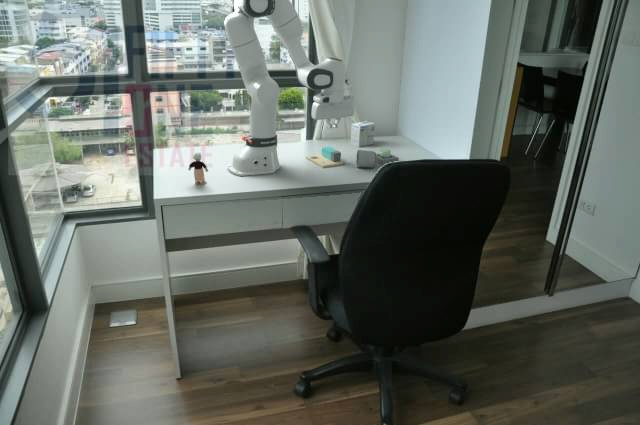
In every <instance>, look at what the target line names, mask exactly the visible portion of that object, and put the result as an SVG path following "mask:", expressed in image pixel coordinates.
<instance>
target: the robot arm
mask: <svg viewBox="0 0 640 425" xmlns="http://www.w3.org/2000/svg"><path fill="white" fill-rule="evenodd" d="M264 17H266V19H267V20H268V21H269V22H270V24H271V27H272V28H273V30H274V32H275V34H276V36H277V37H278V38H279V40H280V41H281V42H282V44H283V45H284V47H285V49H286V51H287V53H288V54H289V57H290V58H291V60H292V63H293V65H294V69H295V75H296V79H297V82H298V83H299V84H300V85H301V86H303V87H306V88H308V89H310V90H312V91H321V90H322V91H321V92H320V93H318V94H316V95H313V99H312V100H313V101H314V102H313V103H312V105H311V113H310V114H311V118H312V119H313V120H315V121H321V120H323V121H324V120H325V122H326V124H327V129H330V130H331V129H333V128H334V129H337V128H339V127H338V125H339V123H340V121H341V118H349V117H354V114H355V107H354V103H355V102H354V101H355V100H354V97H353V95H351V94H347V95H345V86H344V84H345V81H346V80H345V79H346V65H345V62H344V61H343V60H342V59H341V58H340V59H339V58H336V57H332V56H331V57H326V58H325V59H324V60H323V61H321V62H320V63H319V64H313V62H311V61H310V60H309V58H308V56H307V54H306V52H305V50H304V48H303V45H302V41H301V38H302V36H303V35H304V26H303V24H302V20H301V18H300V16H299V14H298V12H297V10H296V8H295V7H294V5H293V3H292V2H291V1H290V0H233V1H232V13H230V14H229V15H227V16H226V17H225V20H224V28H225V34H226V37H227V40H228V43H229V45H230V49H231V51H232V53H233V55H234V58H235V60H236V63H237V65H238V66H237V67H238V68H239V73H240V75H241V78H242V82H243V85H244V87H245V89H246V92H247V94H248V95H249V97H250V98H251V105H250V106H251V107H250V113H249V117H248V118H249V134H248V136H246V135H244V134H242V136H241V140H242V141H245V144H244V145H243V146H241V147H240V149H238V150H237V151H236V152H235V153H234V154H233V156H232V163H229V164H227V170H228V171H229V172H230V173H231V174H233V175H235V176H239V177H243V176H255V175H267V174H268V175H270V174H275V173H276V171H277V170H279V169H280V168H281V165H280V161H279V155H278V150H277V147H278V135H277V113H278V106H279V100H280V97H281V90H280V87H279V84H278V83H277V81H276V80H274V79H273V78H272V77H271V75H270V74H269V71H268V70H269V69H268V67H267V63H266V56H265V54H264V52H263V49H262V46H261V45H262V44H261V43H260V41H259V37H258V35H257V33H256V30H255V24H254V23H255V19H256V18H257V19H259V18H264ZM332 119H335V121H334V123H331V120H332Z"/></svg>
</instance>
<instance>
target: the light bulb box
mask: <svg viewBox="0 0 640 425" xmlns="http://www.w3.org/2000/svg"><path fill="white" fill-rule="evenodd" d="M375 128H376V123H375V122H371V121H369V120H365V121H359V122H354V123H351V127H350V131H351V132H350V145H352V146H355V147H357V148H360V147H361V148H362V147H364V146H369V145H373V144H374V141H375Z"/></svg>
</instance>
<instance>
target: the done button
mask: <svg viewBox="0 0 640 425" xmlns="http://www.w3.org/2000/svg"><path fill="white" fill-rule="evenodd" d="M391 152H392V151H391V149H386V148H384V149H383V148H382V149H380V150H379V153H380V157H381V158H383V159H385V158H390V154H392V153H391Z"/></svg>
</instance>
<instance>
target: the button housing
mask: <svg viewBox="0 0 640 425" xmlns="http://www.w3.org/2000/svg"><path fill="white" fill-rule="evenodd" d="M399 160H400V157H399V156H396V155H394V154H392V153H391V154H390V158H385V159H383V158H381V157H380V152H379V153H376V165H378V166H380V167H382V166H383V165H384V164H386V163H389V162H394V161H399Z"/></svg>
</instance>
